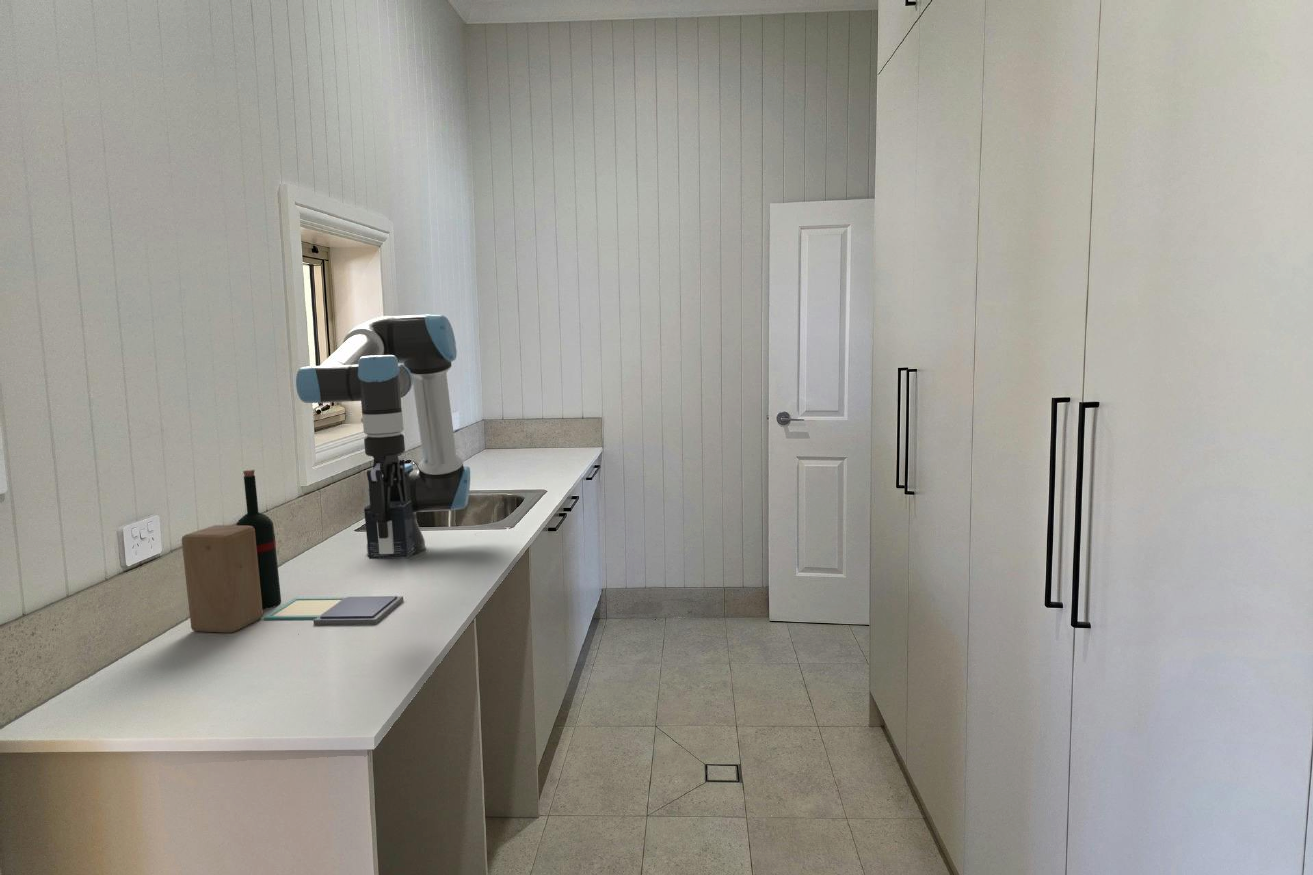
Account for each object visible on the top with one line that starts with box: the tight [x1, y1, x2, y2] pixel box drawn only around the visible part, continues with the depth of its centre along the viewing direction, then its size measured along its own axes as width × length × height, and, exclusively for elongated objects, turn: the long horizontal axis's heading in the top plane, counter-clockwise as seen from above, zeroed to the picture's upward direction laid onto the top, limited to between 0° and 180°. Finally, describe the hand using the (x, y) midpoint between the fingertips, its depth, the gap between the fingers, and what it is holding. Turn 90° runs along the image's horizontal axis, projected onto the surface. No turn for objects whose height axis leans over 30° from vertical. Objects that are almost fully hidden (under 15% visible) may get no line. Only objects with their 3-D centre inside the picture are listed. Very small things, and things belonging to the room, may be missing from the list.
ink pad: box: [313, 595, 404, 626], centre depth 180 cm, size 15×13×1 cm
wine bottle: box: [235, 469, 282, 611], centre depth 187 cm, size 8×10×30 cm
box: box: [363, 501, 416, 560], centre depth 170 cm, size 8×6×11 cm
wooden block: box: [181, 524, 264, 634], centre depth 174 cm, size 10×10×20 cm
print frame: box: [263, 596, 345, 621], centre depth 183 cm, size 13×14×1 cm
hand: (393, 548), depth 171 cm, fingers closed on box, 6 cm apart
